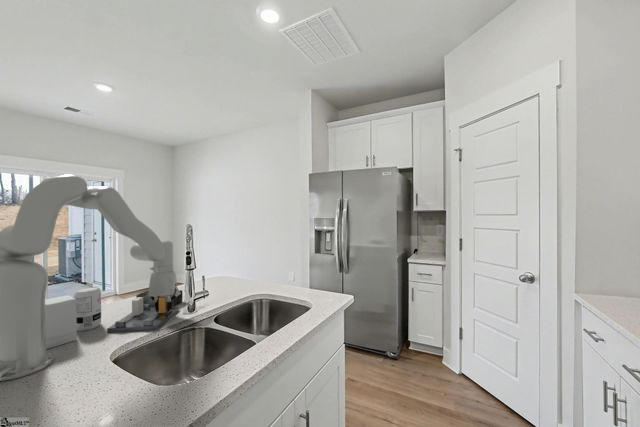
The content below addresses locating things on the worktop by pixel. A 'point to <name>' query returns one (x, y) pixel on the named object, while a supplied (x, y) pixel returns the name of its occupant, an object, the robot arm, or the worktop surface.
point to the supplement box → (60, 320)
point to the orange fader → (163, 304)
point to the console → (143, 320)
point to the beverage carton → (149, 301)
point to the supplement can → (88, 308)
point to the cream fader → (137, 306)
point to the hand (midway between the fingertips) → (164, 310)
